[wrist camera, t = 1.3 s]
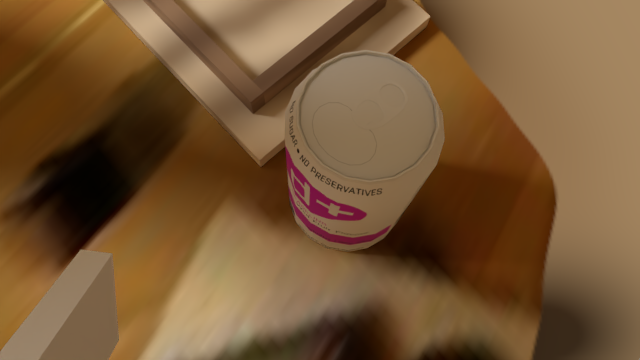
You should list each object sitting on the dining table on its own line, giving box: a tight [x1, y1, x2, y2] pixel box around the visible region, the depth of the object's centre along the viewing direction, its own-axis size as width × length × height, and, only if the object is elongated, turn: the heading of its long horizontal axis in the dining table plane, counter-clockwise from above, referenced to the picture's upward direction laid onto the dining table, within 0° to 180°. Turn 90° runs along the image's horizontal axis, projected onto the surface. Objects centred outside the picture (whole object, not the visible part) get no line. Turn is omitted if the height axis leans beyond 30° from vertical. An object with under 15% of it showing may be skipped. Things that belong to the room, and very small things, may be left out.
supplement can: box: [285, 50, 445, 252], centre depth 34 cm, size 8×8×15 cm
